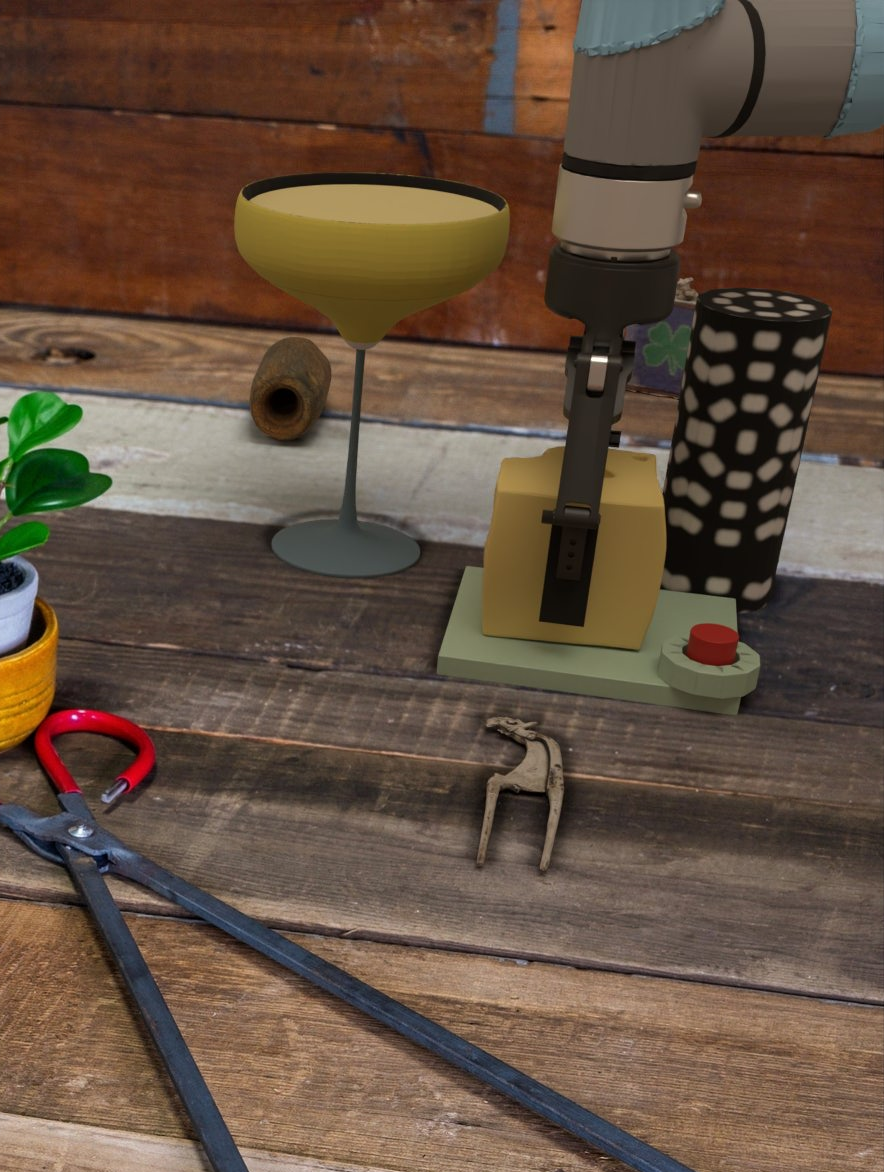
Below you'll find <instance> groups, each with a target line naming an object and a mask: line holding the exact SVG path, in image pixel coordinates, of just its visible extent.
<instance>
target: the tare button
mask: <svg viewBox="0 0 884 1172" xmlns="http://www.w3.org/2000/svg"><path fill="white" fill-rule="evenodd" d="M739 639H740V635H739V632H738V633H737V632H736V631H735V630H733V629H731V628H729V627H727V626H723V625H719V624H712V623H703V624H697V625H695V626H693V627H692V628H691V631H690V636H689V641H688V647H687V652H686V656H687V657H688V658H689V659H690V660H693V661H695V662H698V663H701V664H704V665H711V666H726V665H733V663H734V660H735V655H736V650H737V645H738V641H739Z"/></svg>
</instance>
